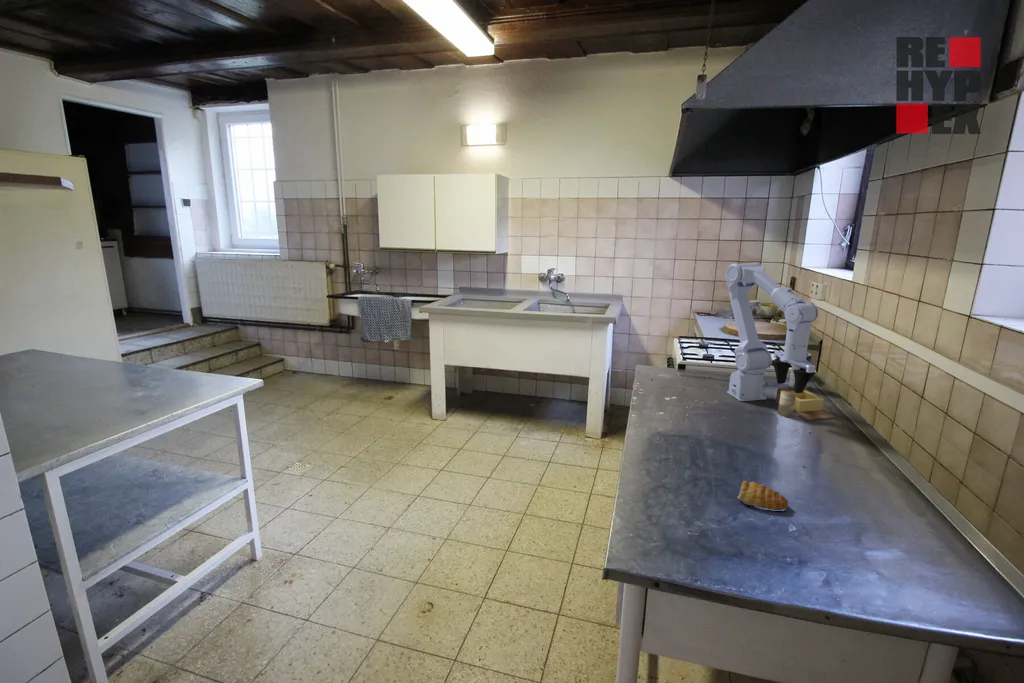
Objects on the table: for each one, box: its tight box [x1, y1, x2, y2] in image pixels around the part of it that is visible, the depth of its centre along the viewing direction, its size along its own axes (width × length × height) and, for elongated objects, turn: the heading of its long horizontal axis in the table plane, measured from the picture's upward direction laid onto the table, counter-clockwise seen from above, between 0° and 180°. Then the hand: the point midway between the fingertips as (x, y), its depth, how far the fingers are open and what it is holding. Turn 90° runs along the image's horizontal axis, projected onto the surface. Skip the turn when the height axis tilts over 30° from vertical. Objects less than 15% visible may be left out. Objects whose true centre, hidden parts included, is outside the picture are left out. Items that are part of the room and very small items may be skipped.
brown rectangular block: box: [775, 386, 836, 421], centre depth 150 cm, size 9×14×5 cm, turn 9°
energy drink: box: [788, 352, 812, 388], centre depth 168 cm, size 5×5×12 cm
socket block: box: [792, 389, 825, 412], centre depth 151 cm, size 8×8×4 cm
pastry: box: [737, 480, 789, 510], centre depth 104 cm, size 9×7×4 cm
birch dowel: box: [777, 390, 796, 418], centre depth 146 cm, size 4×4×7 cm
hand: (789, 387), depth 145 cm, fingers open, 7 cm apart
